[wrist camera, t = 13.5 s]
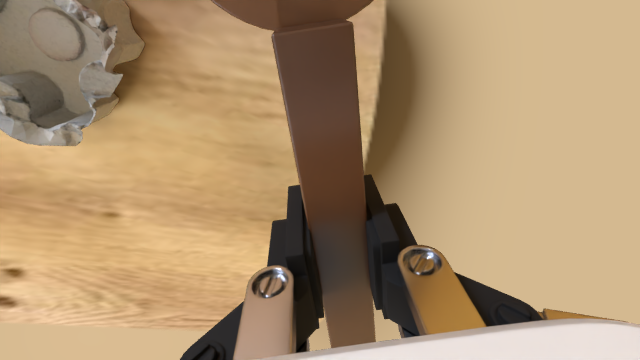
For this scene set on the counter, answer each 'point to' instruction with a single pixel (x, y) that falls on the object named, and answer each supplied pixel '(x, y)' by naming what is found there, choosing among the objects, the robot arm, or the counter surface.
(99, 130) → the counter surface
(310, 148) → the spoon
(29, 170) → the counter surface
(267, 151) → the counter surface
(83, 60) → the crystal geode chunk
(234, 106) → the counter surface
